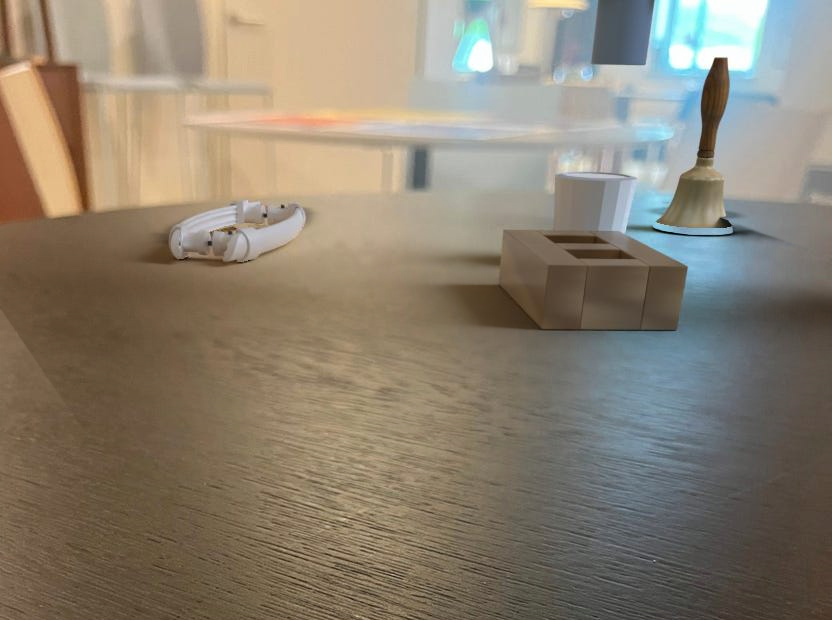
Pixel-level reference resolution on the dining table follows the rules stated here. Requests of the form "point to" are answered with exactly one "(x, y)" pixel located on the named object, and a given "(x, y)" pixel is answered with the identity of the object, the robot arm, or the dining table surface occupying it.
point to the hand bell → (704, 162)
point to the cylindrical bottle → (622, 32)
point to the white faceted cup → (593, 201)
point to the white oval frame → (237, 230)
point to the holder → (591, 280)
